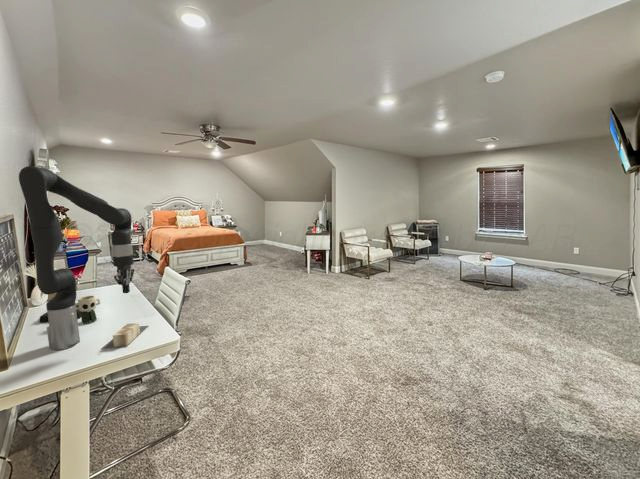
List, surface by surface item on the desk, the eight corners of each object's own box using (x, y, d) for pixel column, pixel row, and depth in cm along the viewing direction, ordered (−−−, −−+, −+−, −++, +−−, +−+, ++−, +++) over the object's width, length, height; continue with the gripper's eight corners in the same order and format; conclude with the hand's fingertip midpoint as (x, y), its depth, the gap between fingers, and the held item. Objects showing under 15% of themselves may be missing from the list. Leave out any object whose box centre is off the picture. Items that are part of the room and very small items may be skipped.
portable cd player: (56, 312, 168) (55, 305, 167) (92, 309, 173) (91, 302, 172) (39, 324, 152) (38, 316, 152) (79, 319, 157) (78, 312, 157)
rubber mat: (100, 351, 123) (100, 349, 123) (127, 328, 144) (127, 327, 144) (126, 349, 124) (126, 347, 124) (149, 327, 146) (149, 325, 146)
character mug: (77, 327, 147) (74, 301, 145) (74, 323, 151) (71, 299, 149) (104, 320, 155) (101, 296, 153) (99, 317, 160) (97, 293, 158)
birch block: (128, 334, 136) (114, 346, 125) (127, 323, 136) (112, 335, 124) (140, 333, 137) (126, 345, 125) (139, 323, 136) (125, 334, 125)
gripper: (121, 252, 135) (125, 288, 138) (104, 257, 122) (108, 297, 125) (139, 251, 136) (142, 288, 139) (124, 256, 123) (127, 297, 126)
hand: (126, 292), depth 132 cm, fingers closed
